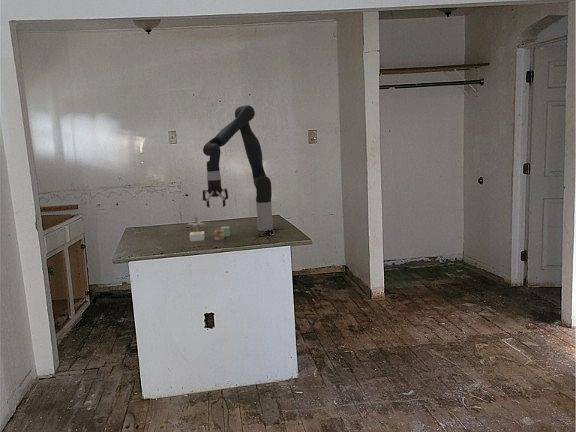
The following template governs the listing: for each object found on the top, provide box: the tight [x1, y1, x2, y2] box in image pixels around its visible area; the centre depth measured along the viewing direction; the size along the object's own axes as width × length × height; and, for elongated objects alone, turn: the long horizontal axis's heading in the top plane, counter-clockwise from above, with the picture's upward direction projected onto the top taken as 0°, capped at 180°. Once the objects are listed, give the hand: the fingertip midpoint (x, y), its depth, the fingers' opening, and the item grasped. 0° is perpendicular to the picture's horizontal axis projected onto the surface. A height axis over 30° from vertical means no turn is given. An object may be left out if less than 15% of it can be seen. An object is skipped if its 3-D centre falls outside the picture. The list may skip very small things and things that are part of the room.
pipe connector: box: [187, 215, 206, 232], centre depth 317 cm, size 10×10×10 cm
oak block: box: [214, 229, 225, 241], centre depth 296 cm, size 5×5×5 cm
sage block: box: [220, 225, 231, 238], centre depth 304 cm, size 5×5×5 cm
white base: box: [189, 230, 206, 242], centre depth 298 cm, size 8×8×4 cm
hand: (216, 207), depth 294 cm, fingers open, 8 cm apart
